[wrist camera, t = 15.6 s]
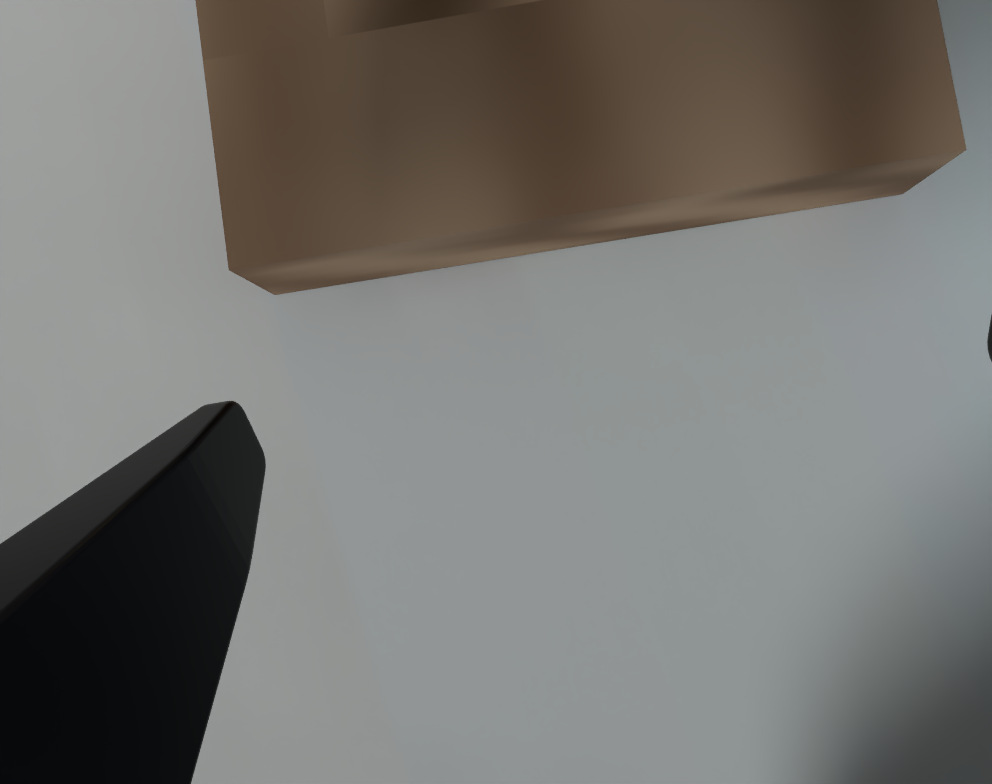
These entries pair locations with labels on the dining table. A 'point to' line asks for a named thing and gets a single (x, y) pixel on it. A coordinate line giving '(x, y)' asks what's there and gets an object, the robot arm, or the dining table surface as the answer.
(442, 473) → the dining table surface
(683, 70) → the keyhole board
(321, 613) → the dining table surface
